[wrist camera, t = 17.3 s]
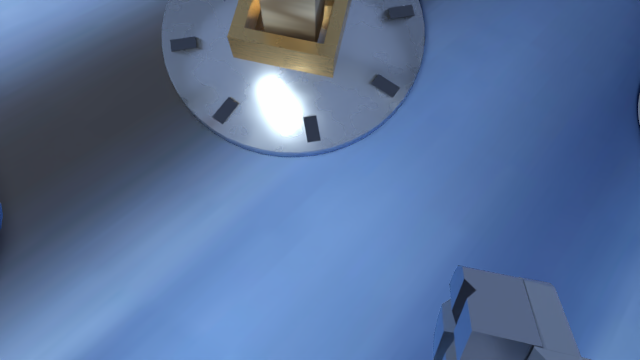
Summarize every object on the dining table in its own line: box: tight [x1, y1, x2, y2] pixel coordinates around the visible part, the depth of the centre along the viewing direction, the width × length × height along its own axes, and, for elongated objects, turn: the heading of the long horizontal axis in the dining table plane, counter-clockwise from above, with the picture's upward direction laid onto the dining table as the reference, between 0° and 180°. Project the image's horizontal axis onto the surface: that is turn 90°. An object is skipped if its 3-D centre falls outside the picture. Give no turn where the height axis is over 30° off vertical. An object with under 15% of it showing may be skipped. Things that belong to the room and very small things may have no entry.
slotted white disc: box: [162, 0, 425, 157], centre depth 41 cm, size 21×21×4 cm
